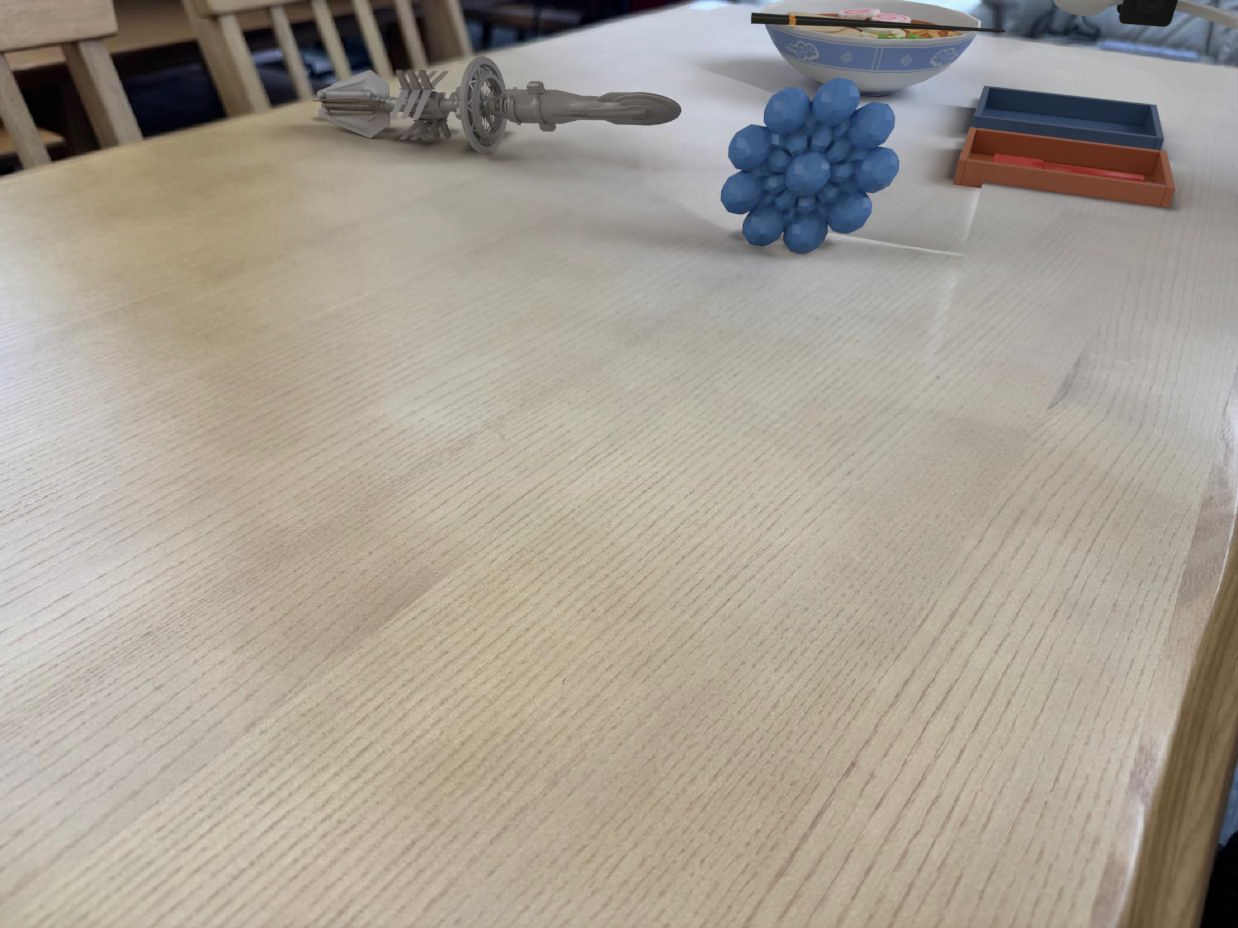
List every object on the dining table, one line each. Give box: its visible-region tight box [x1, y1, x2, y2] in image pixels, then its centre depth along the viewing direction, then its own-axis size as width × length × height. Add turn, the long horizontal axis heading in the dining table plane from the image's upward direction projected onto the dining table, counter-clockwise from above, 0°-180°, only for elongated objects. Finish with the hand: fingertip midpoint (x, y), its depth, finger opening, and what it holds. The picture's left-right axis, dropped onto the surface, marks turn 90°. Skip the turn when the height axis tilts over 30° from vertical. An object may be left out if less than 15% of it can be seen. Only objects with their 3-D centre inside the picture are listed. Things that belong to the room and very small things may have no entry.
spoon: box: [1052, 0, 1238, 31], centre depth 67 cm, size 3×12×2 cm, turn 66°
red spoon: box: [992, 154, 1147, 183], centre depth 83 cm, size 12×3×1 cm, turn 69°
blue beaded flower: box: [720, 78, 900, 255], centre depth 68 cm, size 12×7×12 cm, turn 80°
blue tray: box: [970, 85, 1165, 151], centre depth 95 cm, size 16×12×2 cm
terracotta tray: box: [952, 126, 1176, 208], centre depth 83 cm, size 16×10×2 cm, turn 69°
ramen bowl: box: [750, 0, 1006, 97], centre depth 106 cm, size 25×23×8 cm
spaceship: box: [310, 55, 682, 155], centre depth 85 cm, size 8×35×8 cm
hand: (1142, 17), depth 68 cm, fingers closed on spoon, 2 cm apart
